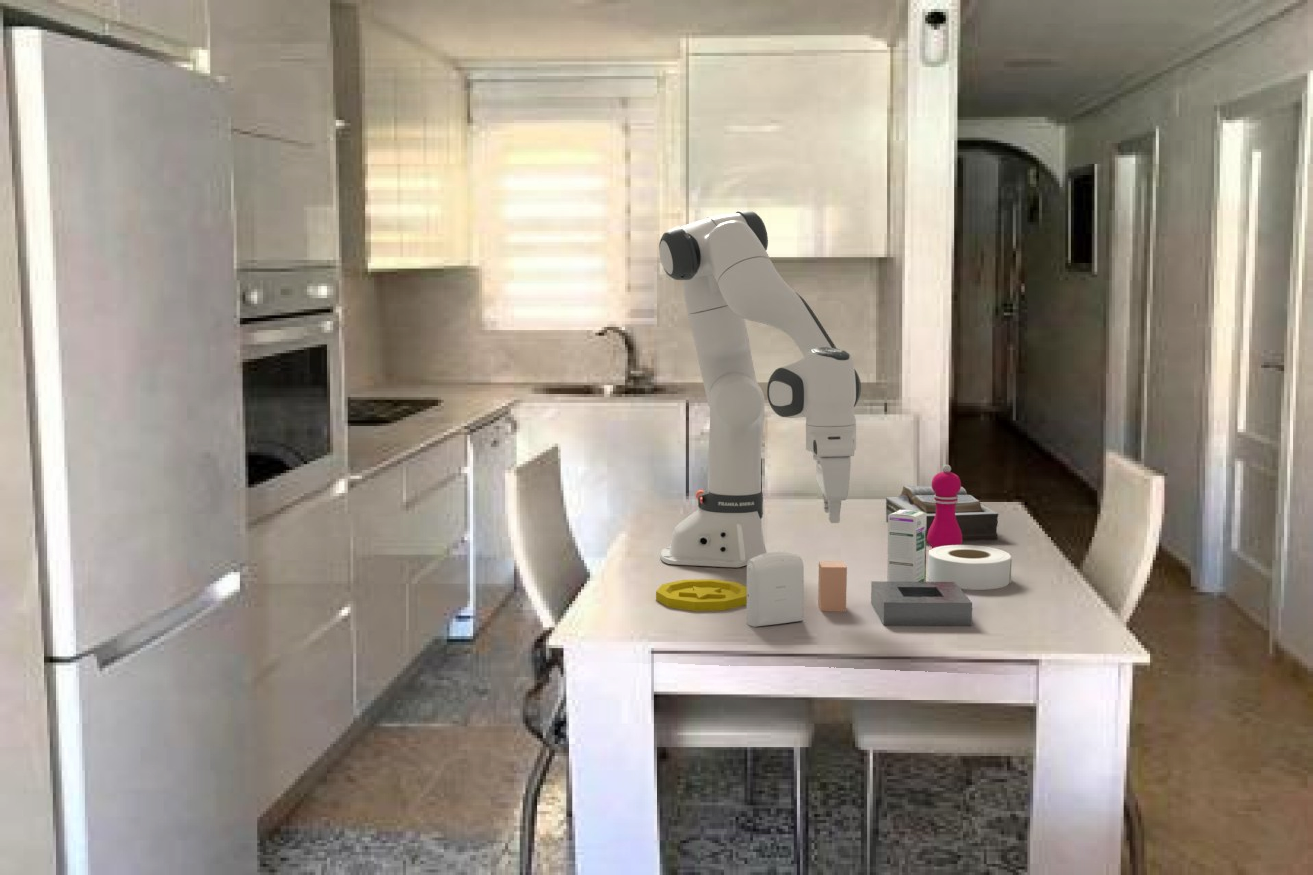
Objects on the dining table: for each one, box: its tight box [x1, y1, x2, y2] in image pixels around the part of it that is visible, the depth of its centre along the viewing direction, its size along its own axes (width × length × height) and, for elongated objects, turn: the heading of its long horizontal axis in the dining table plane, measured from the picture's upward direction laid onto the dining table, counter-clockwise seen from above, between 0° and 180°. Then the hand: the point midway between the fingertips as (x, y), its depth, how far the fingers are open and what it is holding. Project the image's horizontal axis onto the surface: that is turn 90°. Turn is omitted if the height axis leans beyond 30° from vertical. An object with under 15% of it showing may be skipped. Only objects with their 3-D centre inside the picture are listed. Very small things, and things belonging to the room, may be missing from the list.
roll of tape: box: [927, 544, 1013, 591], centre depth 259 cm, size 16×16×6 cm
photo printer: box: [746, 550, 805, 628], centre depth 228 cm, size 10×4×12 cm, turn 112°
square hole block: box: [870, 580, 973, 627], centre depth 234 cm, size 15×15×4 cm
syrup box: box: [886, 510, 927, 582], centre depth 253 cm, size 6×6×14 cm
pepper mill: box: [927, 464, 963, 550], centre depth 276 cm, size 7×7×20 cm
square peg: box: [817, 561, 848, 612], centre depth 238 cm, size 4×4×8 cm
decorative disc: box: [655, 578, 747, 612], centre depth 245 cm, size 17×18×2 cm
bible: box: [885, 484, 1000, 543], centre depth 307 cm, size 23×27×10 cm
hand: (831, 517), depth 236 cm, fingers open, 8 cm apart
